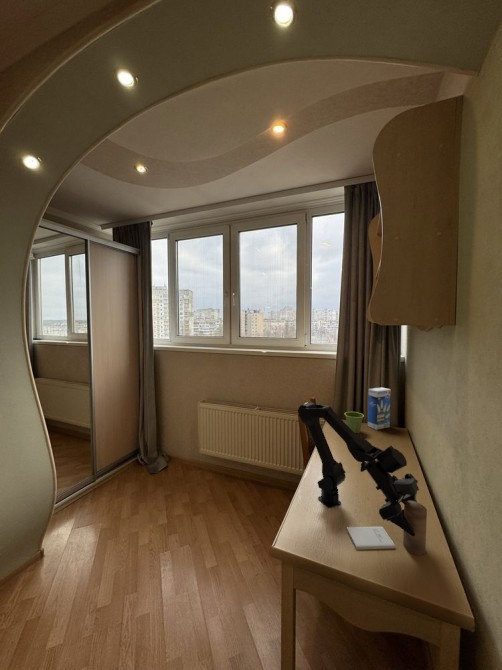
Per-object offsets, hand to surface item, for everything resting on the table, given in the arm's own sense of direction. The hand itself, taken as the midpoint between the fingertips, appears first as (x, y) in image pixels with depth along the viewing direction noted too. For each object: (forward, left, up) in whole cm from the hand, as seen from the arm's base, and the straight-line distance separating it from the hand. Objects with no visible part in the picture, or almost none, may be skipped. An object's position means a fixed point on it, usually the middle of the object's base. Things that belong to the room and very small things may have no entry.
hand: (418, 527), depth 84 cm
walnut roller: (-1, 0, -7) cm, 7 cm away
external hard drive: (-9, -10, -8) cm, 16 cm away
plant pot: (-78, +50, -7) cm, 93 cm away
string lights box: (-78, +72, -7) cm, 106 cm away
